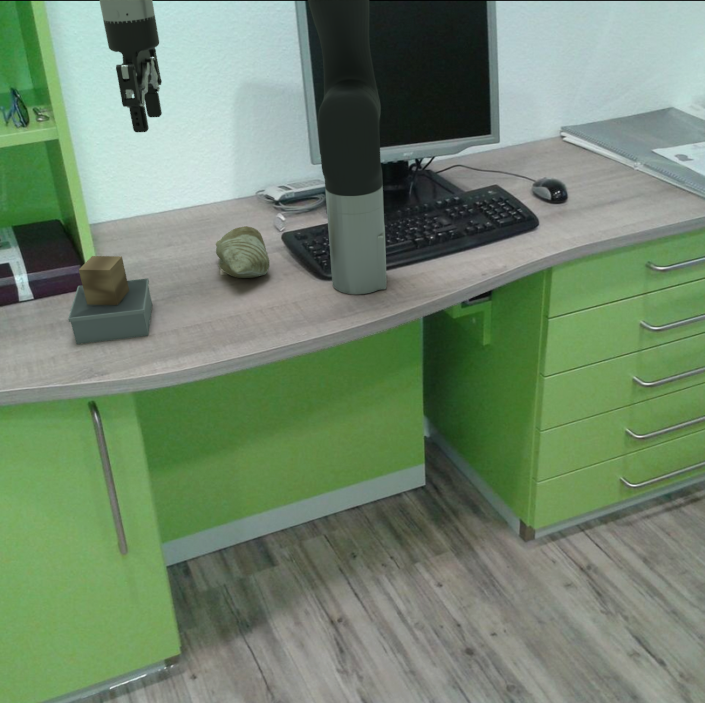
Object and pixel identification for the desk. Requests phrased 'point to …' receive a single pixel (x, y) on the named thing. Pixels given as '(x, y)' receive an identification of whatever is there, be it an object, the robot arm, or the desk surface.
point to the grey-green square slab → (112, 315)
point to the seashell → (243, 253)
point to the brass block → (104, 280)
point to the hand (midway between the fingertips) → (148, 123)
